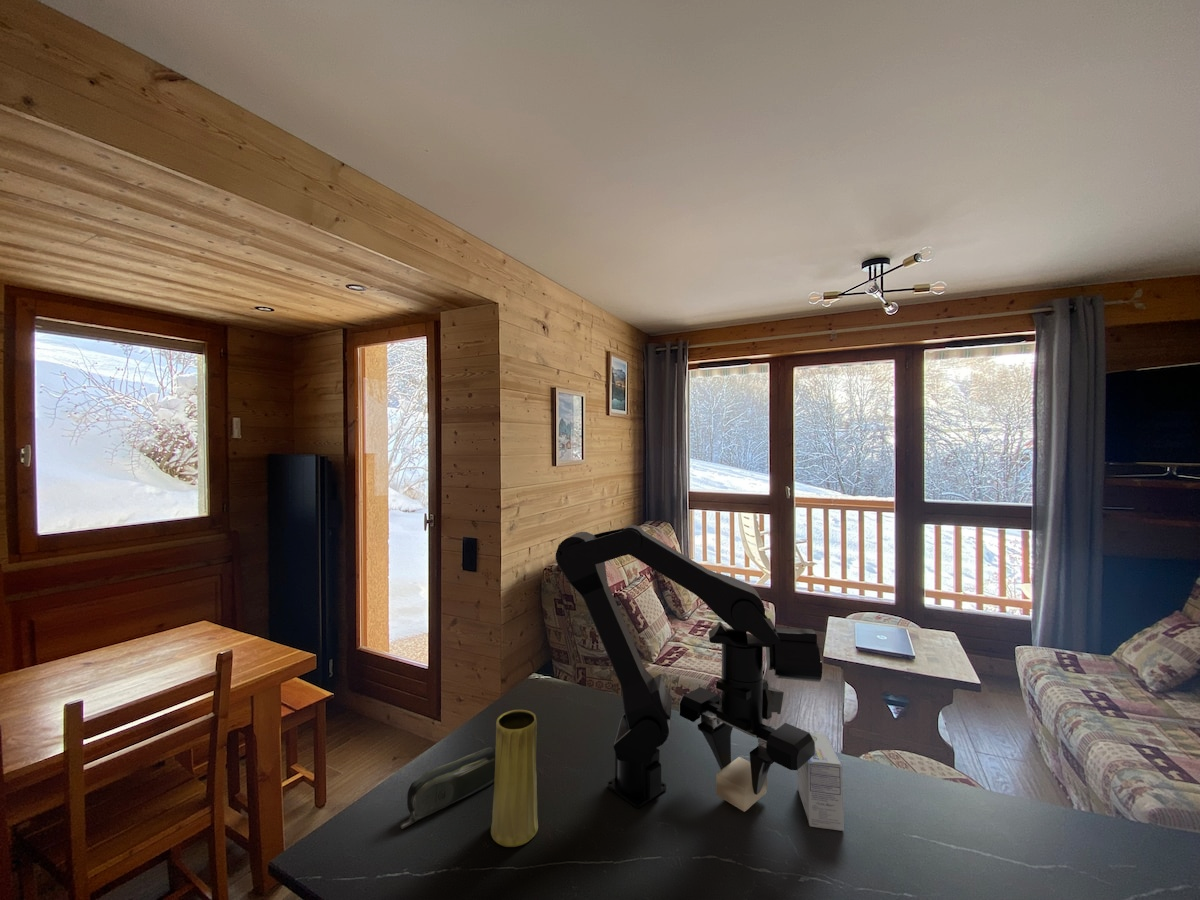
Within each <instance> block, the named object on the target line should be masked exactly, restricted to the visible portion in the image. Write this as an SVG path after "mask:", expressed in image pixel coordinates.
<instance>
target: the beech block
mask: <svg viewBox="0 0 1200 900" xmlns="http://www.w3.org/2000/svg"><path fill="white" fill-rule="evenodd" d="M715 778H716V779H715V780H716V781H715V784H716V785H715V793H716V794H715V795H716V796H717V797H719V798H721V799H722V800H724V801H726V802H727V803H729V804H731V805H732V806H733V807H736V808H737V809H739V810H740V811H742V812H746V811H748V810H749V809H750V808H751V807H752V806H753V805H755V803H757V802H758V800H760V799H761V798H762V797H763V796H765V795H766V793H767V792H768V788H767V787H768V775H767V776H766V778H765V781H764V783H763V786H762V789H761V791H760V793H759V794H757V795H756V794H754V791H753V786H752V777H751V765H750V760H749V761H748V760H747V759H744V758H743V757H741V756H738V757H737V758H736V759H734V760H732V761H731V763H730V764H728V765H727V766H726V767H724V768H723V769H722V770H721V769H719V771H717V772H716V774H715Z"/></svg>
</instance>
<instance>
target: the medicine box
mask: <svg viewBox="0 0 1200 900" xmlns="http://www.w3.org/2000/svg"><path fill="white" fill-rule="evenodd" d="M809 733H810V734H811V736H812V737H813V740H814V742H815V755H814V756H813V757H811V758H810V759H809V760H808V761H807V762H806V763H805V764H804V765H803V766H801V767H800V768H799V769H798V770H796V771H797V772H796V777H797V778H796V779H797V780H796V782H797V784H796V785H797V791H798V793H799V797H800V800H801V802H802V806H803V810H804V812H805V815H806V818H807V821H808V825H809V827H811V828H817V829H825V830H830V831H831V830H832V831H839V832H843V831H844V830H845V828H844V827H845V826H844V781H843V779H844V778H843V765H842V763H841V761H840V759H839V757H838V754H837V752H836V751H835V748H834V746H833V745H832V743H831V740H830V738H829V736H828V735H827V734H823V733H819V732H818V733H817V732H809Z"/></svg>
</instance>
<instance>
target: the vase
mask: <svg viewBox="0 0 1200 900" xmlns="http://www.w3.org/2000/svg"><path fill="white" fill-rule="evenodd" d="M536 716H537V715H536V714H535V713H534V712H532V711H530V710H525V709H512V710H508V711H506V712H504V713H502V714H500V715H499V716H497V719H496V721H495V722H496V723H495V748H496V753H495V778H494V783H493V800H492V816H491V817H492V818H491V827H490V835H491V838H492V839H493V841H494V842H495V843H496V844H498V845H499V846H502V847H506V848H516V847H520V846H523V845H526V844H527V843H528V842H530V841H531V840H533V838H534V837H535V836H536V834H537V833H538V829H539V822H538V794H537V793H538V791H537V787H538V786H537V735H538V734H537V731H538V729H537V727H538V726H537V717H536Z"/></svg>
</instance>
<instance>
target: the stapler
mask: <svg viewBox="0 0 1200 900" xmlns="http://www.w3.org/2000/svg"><path fill="white" fill-rule="evenodd" d="M495 753H496V746H493V745H491V746H488V747H486V748H483V749H480V750H479V751H476V752H473V753H471V754H468V755H466V756H463V757H461V758H459V759H457V760H454V761H451V762H448V763H446V764H442V765H439V766H437V767H434V768H432V769H429V770H428V771H425V772H424V773H423V774H422V775H421V776H420V777H418V778H416V779H415V780H414V781H413V782H412V783H410V786H409V788H408V790H407V797H406V799H407V800H406V801H407V802H406V803H407V804H406V805H407V806H406V807H407V810H408V811H409V814H410V815H409V818H408V819H407V820H405V821H404V822H401V823H400V824H399V825H400V829H401V830H403V829H405V828H408V827H409V826H410V825H412V824H414V823H416V822H418V821H420V820H422V819H423V818H425V817H428V816H430V815H432V814H434V813H436V812H438V811H440V810H443V809H445V808H447V807H449V806H450V805H452V804H454V803H456V802H458V801H460V800H463V799H465V798H468V797H469V796H471V795H474V794H476V793H478V792H480V791H483V790H484V789H486V788H487V787H488V788H489V787H490V786H491V785H492V784H494V778H495Z"/></svg>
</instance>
